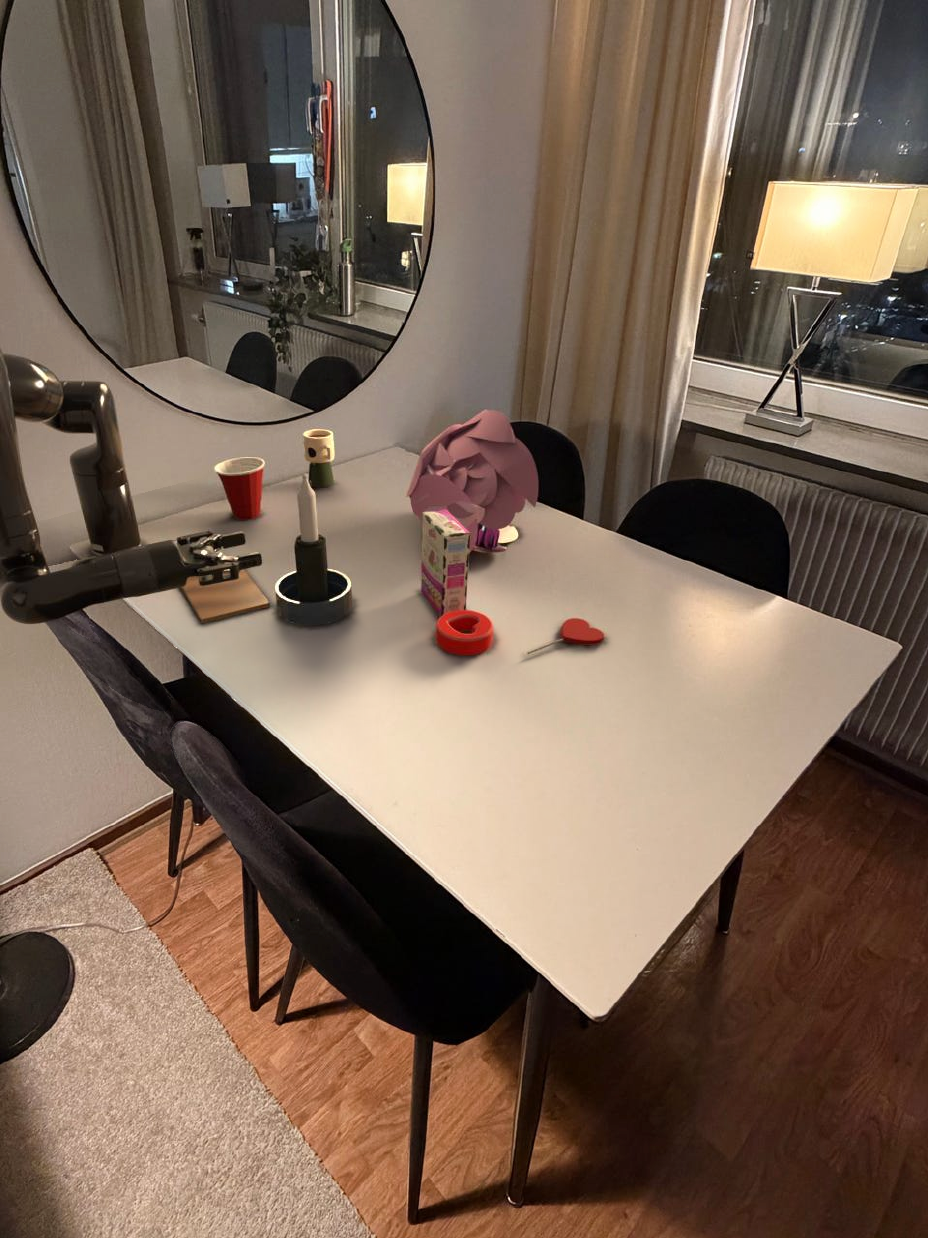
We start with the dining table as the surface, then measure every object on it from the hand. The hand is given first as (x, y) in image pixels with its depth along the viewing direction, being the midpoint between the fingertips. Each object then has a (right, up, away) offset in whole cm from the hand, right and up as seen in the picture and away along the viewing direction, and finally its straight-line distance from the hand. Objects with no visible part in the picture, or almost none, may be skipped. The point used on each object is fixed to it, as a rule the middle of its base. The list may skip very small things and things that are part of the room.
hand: (252, 547), depth 120 cm
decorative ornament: (+35, -15, +5) cm, 38 cm away
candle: (+8, -9, +12) cm, 17 cm away
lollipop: (+51, -16, +5) cm, 54 cm away
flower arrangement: (+36, +7, +41) cm, 55 cm away
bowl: (+8, -10, +12) cm, 17 cm away
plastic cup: (-15, +12, +45) cm, 49 cm away
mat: (-11, -6, +16) cm, 20 cm away
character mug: (-1, +21, +62) cm, 65 cm away
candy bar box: (+31, -9, +15) cm, 35 cm away
